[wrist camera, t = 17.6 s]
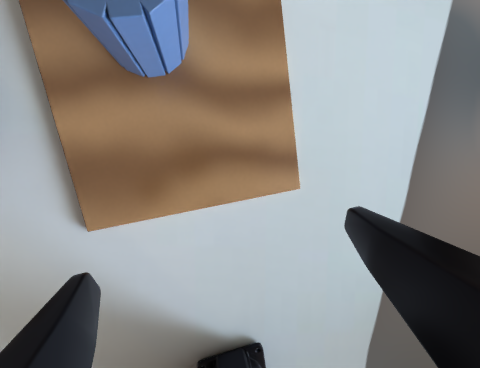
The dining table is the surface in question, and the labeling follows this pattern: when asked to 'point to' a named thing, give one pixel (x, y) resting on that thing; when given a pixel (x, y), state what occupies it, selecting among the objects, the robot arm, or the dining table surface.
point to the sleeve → (138, 31)
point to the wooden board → (171, 113)
